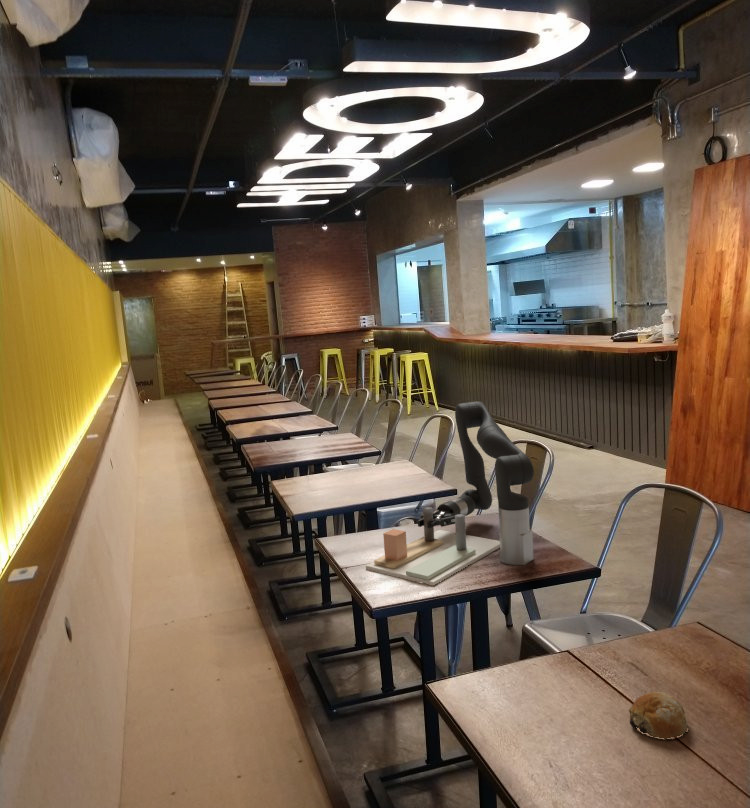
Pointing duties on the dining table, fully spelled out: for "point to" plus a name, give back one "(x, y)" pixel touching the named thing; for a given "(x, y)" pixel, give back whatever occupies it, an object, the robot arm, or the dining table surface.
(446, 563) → the sage strip
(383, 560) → the oak strip
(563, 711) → the dining table surface
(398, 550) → the terracotta block
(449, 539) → the lane board
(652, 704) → the bread roll
